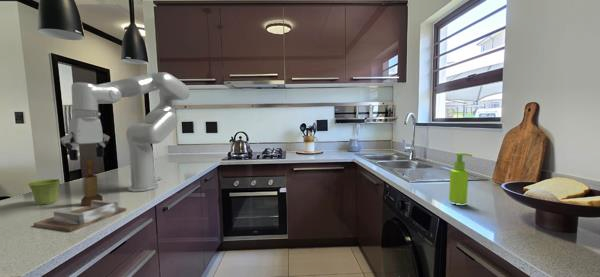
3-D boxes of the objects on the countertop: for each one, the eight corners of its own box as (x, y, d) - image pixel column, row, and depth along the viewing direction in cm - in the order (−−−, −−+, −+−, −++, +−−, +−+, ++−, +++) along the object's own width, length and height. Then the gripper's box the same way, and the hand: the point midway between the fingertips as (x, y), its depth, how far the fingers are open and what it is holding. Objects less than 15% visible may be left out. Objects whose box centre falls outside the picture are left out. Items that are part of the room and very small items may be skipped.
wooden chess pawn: (90, 206, 97) (87, 160, 95) (76, 205, 98) (73, 160, 97) (106, 201, 103) (104, 158, 102) (93, 200, 104) (91, 157, 103)
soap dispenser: (470, 207, 94) (473, 154, 93) (449, 204, 98) (451, 153, 96) (469, 202, 99) (471, 153, 98) (448, 200, 103) (450, 151, 101)
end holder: (93, 206, 96) (93, 196, 96) (126, 210, 92) (125, 200, 92) (33, 226, 79) (32, 213, 79) (70, 231, 75) (69, 218, 75)
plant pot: (68, 199, 106) (67, 179, 105) (44, 207, 97) (42, 185, 96) (49, 198, 107) (47, 178, 106) (22, 206, 97) (20, 184, 97)
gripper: (101, 115, 107) (102, 155, 108) (52, 114, 90) (54, 161, 91) (114, 115, 105) (116, 156, 106) (67, 114, 88) (69, 162, 89)
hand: (87, 158), depth 99 cm, fingers open, 9 cm apart
